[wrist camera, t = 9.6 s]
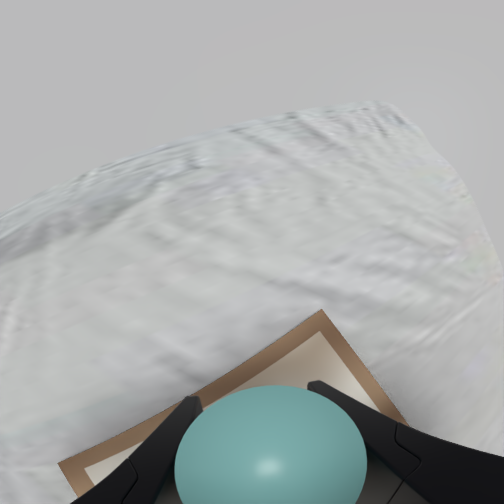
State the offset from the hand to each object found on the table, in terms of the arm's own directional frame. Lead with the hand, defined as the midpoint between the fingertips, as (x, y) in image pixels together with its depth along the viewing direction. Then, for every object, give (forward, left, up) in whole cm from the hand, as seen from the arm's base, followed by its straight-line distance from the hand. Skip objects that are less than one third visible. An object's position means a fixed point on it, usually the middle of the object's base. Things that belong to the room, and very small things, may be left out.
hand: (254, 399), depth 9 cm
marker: (-1, +1, -7) cm, 7 cm away
